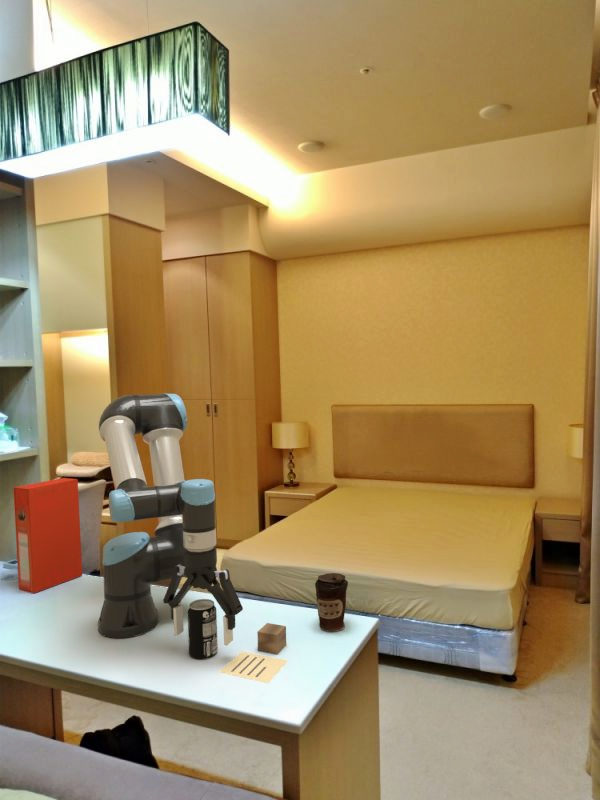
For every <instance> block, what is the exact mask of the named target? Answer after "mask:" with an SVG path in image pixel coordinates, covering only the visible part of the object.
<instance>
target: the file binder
mask: <svg viewBox="0 0 600 800" xmlns="http://www.w3.org/2000/svg"><path fill="white" fill-rule="evenodd" d="M12 489H13V505H14V521H15V525H14V526H15V540H16V560H17V562H16V563H17V577H18V578H17V579H18V581H17V582H18V589H19V590H20V591H23V592H27V593H29V594H35V593H39V592H40V591H44V590H46V589H49V588H52V587H54V586H56V585H60V584H62V583H65V582H68V581H71V580H73V579H76V578H78V577H81V576H83V562H82V561H83V559H82V541H81V539H82V538H81V537H82V536H81V522H80V521H81V520H80V502H79V501H80V500H79V480H78V478H68V477H63V478H62V477H60V478H55V479H50V480H46V481H40V482H36V483H30V484H26V485H21V486H20V485H19V486H14V487H13V488H12Z"/></svg>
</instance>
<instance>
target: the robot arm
mask: <svg viewBox="0 0 600 800" xmlns="http://www.w3.org/2000/svg"><path fill="white" fill-rule="evenodd" d="M187 416H188V415H187V410H186V406H185V403H184V401H183V398H181V397H180V396H179V395H178V394H176V393H165V392H162V393H155V394H154V393H153V394H148V393H147V394H127V395H122V396H119V397H118V398H116V399H114V400H112V401H111V402H110V403H109V404H108V405H107V406H106V407H105V409H104V410H103V411H102V413H101V415H100V417H99V420H98V431H99V436H100V438H101V440H102V441H104V442H105V445H106V446H105V447H106V452H107V456H108V461H109V467H110V471H111V477H112V481H113V486H114V490H111V491H110V492H109V494H108V508H109V516H110V519H111V521H112V522H114V523H124V522H127V523H128V522H129V523H132V522H134V521H135V522H136V521H142V520H148V519H149V520H150V519H155V518H157V519H158V525H157V526H156V527H155V529H154V530H153V531H154V532H153V534H154V536H152V537H150V535H149V533H147V532H146V531H139V532H137V531H134V532H128V533H124V534H121V535H118V536H115V537H112V538H111V539H110V540H108V541H107V542H106V543H105V544H104V546H103V549H102V560H101V562H102V567H103V591H104V594H103V596H104V600H103V604H102V606H101V610H100V615H99V617H98V620H97V621H98V622H97V626H98V632H99V634H100V635H102V636H104V637H107V638H112V639H113V638H114V639H124V638H125V639H126V638H132V637H137V636H140V635H143V634H146V633H148V632H150V631H152V630H153V629H155V628H156V627H157V626H158V624H159V622H160V620H159V619H160V618H159V617H160V616H159V611H158V609H157V607H156V604H155V602H154V599H153V595H152V592H151V591H152V589H151V588H152V587H151V586H152V585H151V584H152V583H158V582H163V581H169V580H170V582H169V585H168V587H167V590H166V593H165V595H164V597H163V600H162V602H163V604H166V605H169V607H170V615H171V617H170V619H171V621H173V635H174V636H175V637H178V636H179V635H181V634H182V633H184V632H185V630H184V629H185V628H184V604H182V600H183V599H184V598H185V597H186V595H187V594H188V592H190V590H191V588H192V587H193V589H201V590H207V592H208V593H210V594H211V595H212V596H213V598H214V599H215V601H216V602H217V603H218V605H219V607H220V608H221V609H222V611H223V612H224V615H223V616H222V622H223V623H222V624H223V629H222V630H223V645H224V646H228V645H230V644H231V642H233V641H234V629H235V628H236V615H238V614H239V613H241V612H242V611H243V609H244V608H243V605H242V602H241V600H240V598H239V596H238V594H237V592H236V589H235V587H234V585H233V583H232V580H231V576H230V571H229V569H227V568H226V569H224V570H218V569H217V561H218V556H217V552H218V551H217V549H218V548H217V547H216V545H217V530H216V529H217V527H216V493H215V485H214V482H213V481H212V480H210V479H205V478H196V479H188V480H185V475H184V474H185V473H184V468H183V461H182V460H183V459H182V454H181V447H180V440H181V439H182V437H183V435H184V432H185V431H186V429H187V427H188V418H187ZM134 435H141V436H142V441H143V442H144V443H145V444H147V445H148V446H149V447H148V448H149V456H150V464H151V472H152V478H153V479H152V480H153V486H148V483H147V479H146V476H145V472H144V470H143V465H142V461H141V458H140V454H139V451H138V447H137V444H136V443H137V442H136V439H135V436H134ZM182 578H184V579H185V578H186V580H185V581H184V583H182V586H181V587H180V589H179V590H178V588H179V586H180V583H181V581H182ZM177 591H178V592H177Z"/></svg>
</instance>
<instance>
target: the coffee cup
mask: <svg viewBox="0 0 600 800" xmlns="http://www.w3.org/2000/svg"><path fill="white" fill-rule="evenodd" d="M314 586H315V596H316V606H317V614H318V623H319V624H318V625H319V628H320V629H322V631H327V632H339V631H341V630H342V631H343V630H344V629H345V625H346V624H345V620H344V618H345V613H346V608H347V589H348V586H349V581H348V580H347V579H346V575H344V574H341V573H339V572H337V573H336V572H330V573H324V574H321V575H318V576H317V580H316V581H315V583H314Z"/></svg>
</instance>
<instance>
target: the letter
mask: <svg viewBox="0 0 600 800" xmlns="http://www.w3.org/2000/svg"><path fill="white" fill-rule="evenodd" d="M288 661H289V660H287V659H282V658H278V657H272V656H269V655H264V654H263V655H262V654H257V653H253V652H247V651H243V650H242V651H240V653H238V654H237V655H236V656H235V657H234V658H233V659H232V660H230V662H229V663H227V664H226V665H225V666H224V667H223V668H222V669H221V670H220V671H219V673H221V674H226V675H231V676H234V677H240V678H244V679H248V680H253V681H257V682H261V683H266V684H269V683H270V682H271V681H272V680H273V679H274V677H275V676H276V675H277V674H278V673H279V672H280V671H281V669H282V668H283V667H284V666H286V664H287V663H288Z"/></svg>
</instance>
